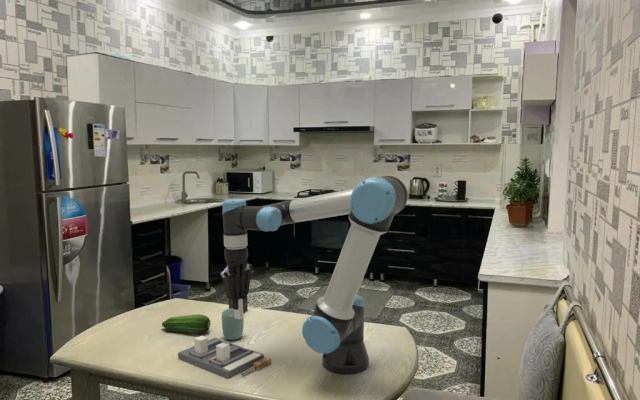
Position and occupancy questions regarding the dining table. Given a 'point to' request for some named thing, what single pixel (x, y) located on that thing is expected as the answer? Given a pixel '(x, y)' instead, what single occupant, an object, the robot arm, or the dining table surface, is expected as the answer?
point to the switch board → (236, 364)
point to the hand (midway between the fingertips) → (238, 318)
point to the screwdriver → (259, 364)
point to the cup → (232, 325)
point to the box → (243, 307)
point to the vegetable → (188, 324)
